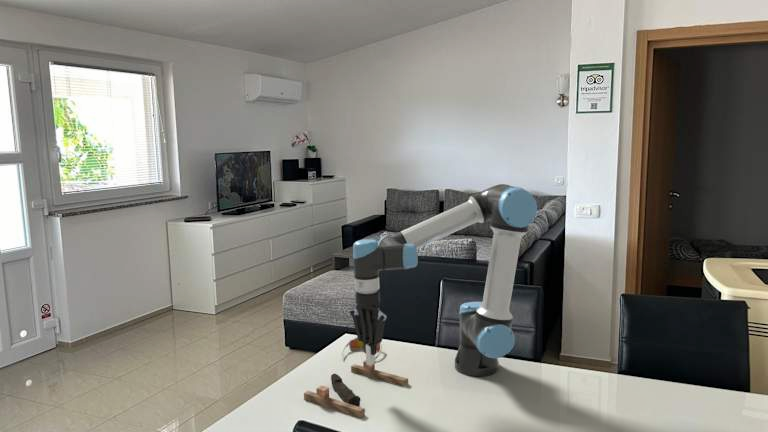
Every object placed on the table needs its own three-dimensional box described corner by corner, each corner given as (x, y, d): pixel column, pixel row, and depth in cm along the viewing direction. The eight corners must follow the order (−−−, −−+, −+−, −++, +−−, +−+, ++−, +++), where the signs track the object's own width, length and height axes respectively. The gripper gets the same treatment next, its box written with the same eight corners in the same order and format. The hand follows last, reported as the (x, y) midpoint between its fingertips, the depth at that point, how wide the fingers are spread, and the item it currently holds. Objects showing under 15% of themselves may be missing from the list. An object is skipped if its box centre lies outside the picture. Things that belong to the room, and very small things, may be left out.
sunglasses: (385, 348, 218) (384, 337, 217) (376, 370, 204) (375, 357, 203) (349, 346, 221) (349, 334, 220) (338, 367, 207) (337, 355, 206)
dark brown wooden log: (361, 408, 172) (360, 393, 172) (348, 410, 171) (348, 396, 170) (340, 383, 190) (340, 370, 189) (328, 385, 188) (328, 372, 187)
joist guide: (408, 384, 187) (408, 369, 187) (360, 418, 166) (359, 401, 165) (355, 369, 200) (354, 355, 199) (303, 399, 178) (302, 384, 177)
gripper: (343, 291, 175) (347, 363, 179) (377, 296, 168) (381, 372, 172) (357, 284, 182) (361, 355, 185) (391, 289, 174) (395, 363, 178)
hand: (371, 363), depth 178 cm, fingers closed
